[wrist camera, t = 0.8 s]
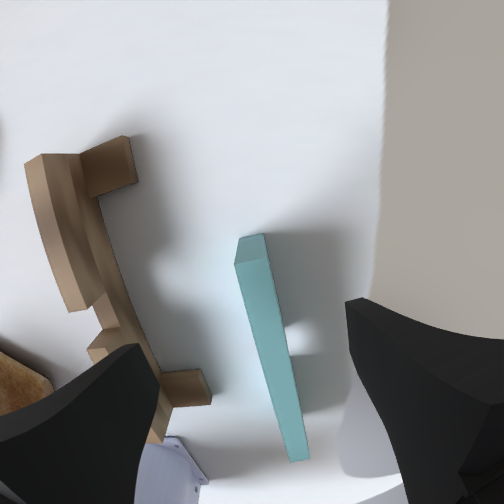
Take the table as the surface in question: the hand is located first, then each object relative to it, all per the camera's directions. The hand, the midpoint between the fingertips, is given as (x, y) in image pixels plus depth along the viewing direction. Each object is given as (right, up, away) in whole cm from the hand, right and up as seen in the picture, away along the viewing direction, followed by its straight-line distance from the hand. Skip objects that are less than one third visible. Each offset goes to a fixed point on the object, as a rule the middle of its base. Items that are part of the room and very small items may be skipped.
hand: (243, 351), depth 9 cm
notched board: (-9, 0, +10) cm, 13 cm away
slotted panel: (+2, -3, +11) cm, 11 cm away
